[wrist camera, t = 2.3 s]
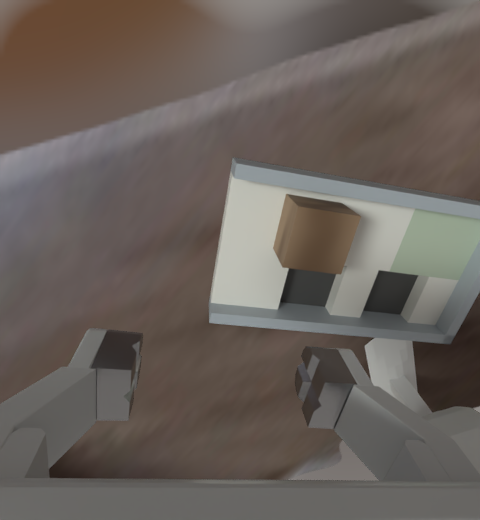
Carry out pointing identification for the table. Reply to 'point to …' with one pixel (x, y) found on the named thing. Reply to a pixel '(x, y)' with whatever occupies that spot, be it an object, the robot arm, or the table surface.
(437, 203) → the track
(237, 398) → the table surface
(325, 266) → the walnut block
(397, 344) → the heart sculpture
